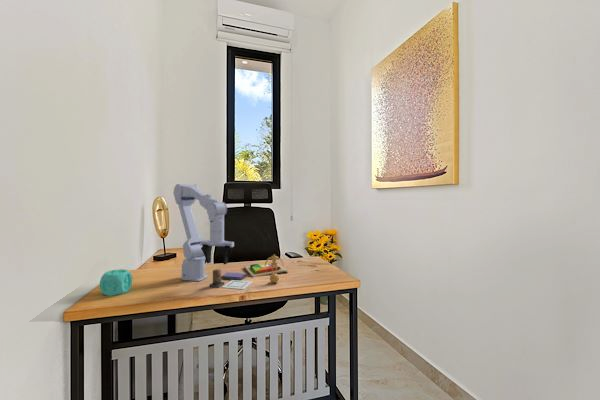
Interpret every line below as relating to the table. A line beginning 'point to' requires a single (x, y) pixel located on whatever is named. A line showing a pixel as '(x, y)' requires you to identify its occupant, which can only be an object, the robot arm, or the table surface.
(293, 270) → the table surface
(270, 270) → the wooden puzzle
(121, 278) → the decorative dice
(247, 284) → the card sheet
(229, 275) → the ink pad
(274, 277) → the figurine
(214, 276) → the stamp
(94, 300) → the table surface
